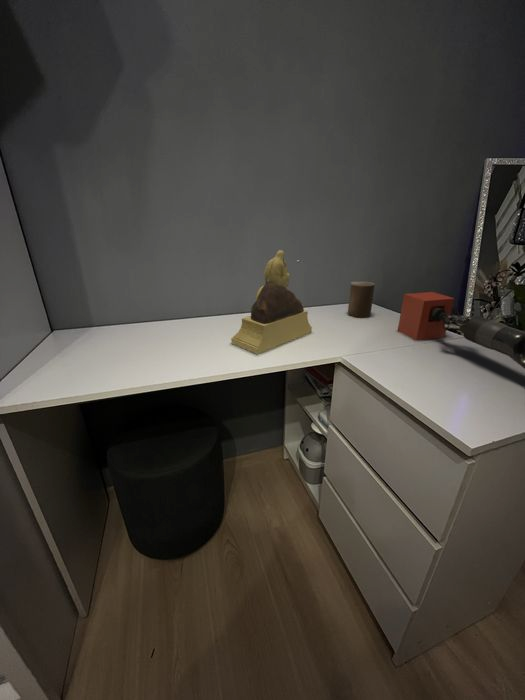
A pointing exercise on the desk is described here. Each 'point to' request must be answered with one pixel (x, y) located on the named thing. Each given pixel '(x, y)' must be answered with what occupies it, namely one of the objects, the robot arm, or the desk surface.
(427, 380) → the desk surface
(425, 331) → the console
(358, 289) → the pillar candle
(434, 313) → the button
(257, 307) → the yellow and brown statue
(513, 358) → the robot arm
